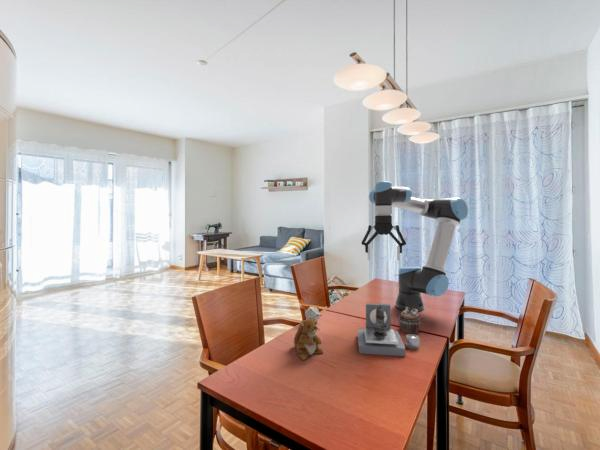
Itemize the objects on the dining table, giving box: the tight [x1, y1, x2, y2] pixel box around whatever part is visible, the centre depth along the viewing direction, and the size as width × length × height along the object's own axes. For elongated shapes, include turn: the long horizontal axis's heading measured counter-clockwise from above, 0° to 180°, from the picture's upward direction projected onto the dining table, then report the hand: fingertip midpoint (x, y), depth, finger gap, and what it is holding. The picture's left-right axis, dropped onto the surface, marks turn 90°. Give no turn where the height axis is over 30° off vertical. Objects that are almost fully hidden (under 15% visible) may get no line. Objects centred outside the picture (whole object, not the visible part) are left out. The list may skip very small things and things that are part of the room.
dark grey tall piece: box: [373, 305, 388, 337], centre depth 117 cm, size 6×6×12 cm
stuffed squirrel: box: [293, 318, 324, 361], centre depth 115 cm, size 10×14×13 cm
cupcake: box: [398, 307, 422, 334], centre depth 134 cm, size 10×10×10 cm
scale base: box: [357, 302, 406, 357], centre depth 118 cm, size 17×16×15 cm
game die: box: [302, 305, 323, 325], centre depth 144 cm, size 9×8×10 cm
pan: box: [363, 327, 398, 344], centre depth 117 cm, size 12×12×2 cm
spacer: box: [405, 333, 420, 350], centre depth 118 cm, size 5×5×4 cm
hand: (383, 259), depth 137 cm, fingers open, 13 cm apart
